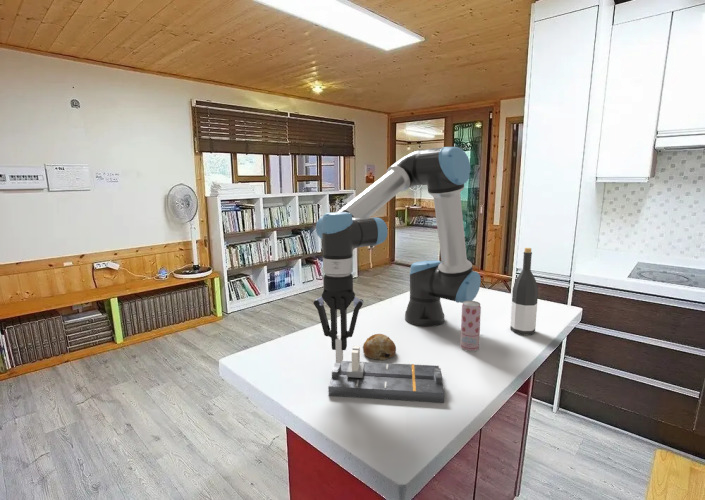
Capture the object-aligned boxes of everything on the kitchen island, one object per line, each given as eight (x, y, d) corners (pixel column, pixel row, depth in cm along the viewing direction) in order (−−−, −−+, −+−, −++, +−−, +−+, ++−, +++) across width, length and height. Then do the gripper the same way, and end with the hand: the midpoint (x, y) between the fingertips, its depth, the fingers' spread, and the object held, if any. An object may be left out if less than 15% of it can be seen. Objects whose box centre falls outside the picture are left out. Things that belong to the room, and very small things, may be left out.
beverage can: (459, 350, 117) (461, 304, 115) (461, 343, 122) (462, 299, 120) (478, 353, 115) (480, 306, 113) (479, 346, 120) (481, 301, 118)
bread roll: (370, 372, 111) (375, 354, 107) (355, 347, 119) (360, 329, 115) (397, 365, 116) (404, 347, 112) (381, 341, 123) (387, 323, 119)
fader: (347, 376, 96) (346, 352, 95) (349, 367, 100) (349, 344, 99) (362, 377, 95) (362, 353, 94) (364, 368, 100) (364, 345, 99)
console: (328, 395, 92) (328, 380, 92) (338, 368, 106) (337, 355, 105) (444, 402, 88) (444, 387, 88) (438, 374, 102) (438, 360, 102)
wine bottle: (523, 337, 127) (529, 250, 123) (505, 329, 135) (510, 247, 130) (540, 333, 130) (546, 248, 126) (521, 325, 138) (526, 245, 133)
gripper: (309, 276, 91) (311, 366, 95) (361, 277, 90) (362, 369, 93) (316, 270, 99) (318, 353, 102) (365, 270, 97) (365, 356, 101)
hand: (339, 360), depth 98 cm, fingers closed
